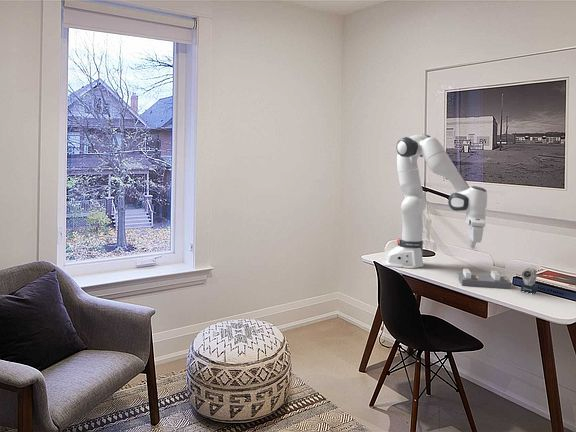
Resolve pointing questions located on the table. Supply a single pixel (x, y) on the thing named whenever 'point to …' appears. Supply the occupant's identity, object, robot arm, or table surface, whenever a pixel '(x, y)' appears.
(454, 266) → the table surface
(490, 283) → the power strip
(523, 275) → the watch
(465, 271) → the left switch
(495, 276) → the right switch
